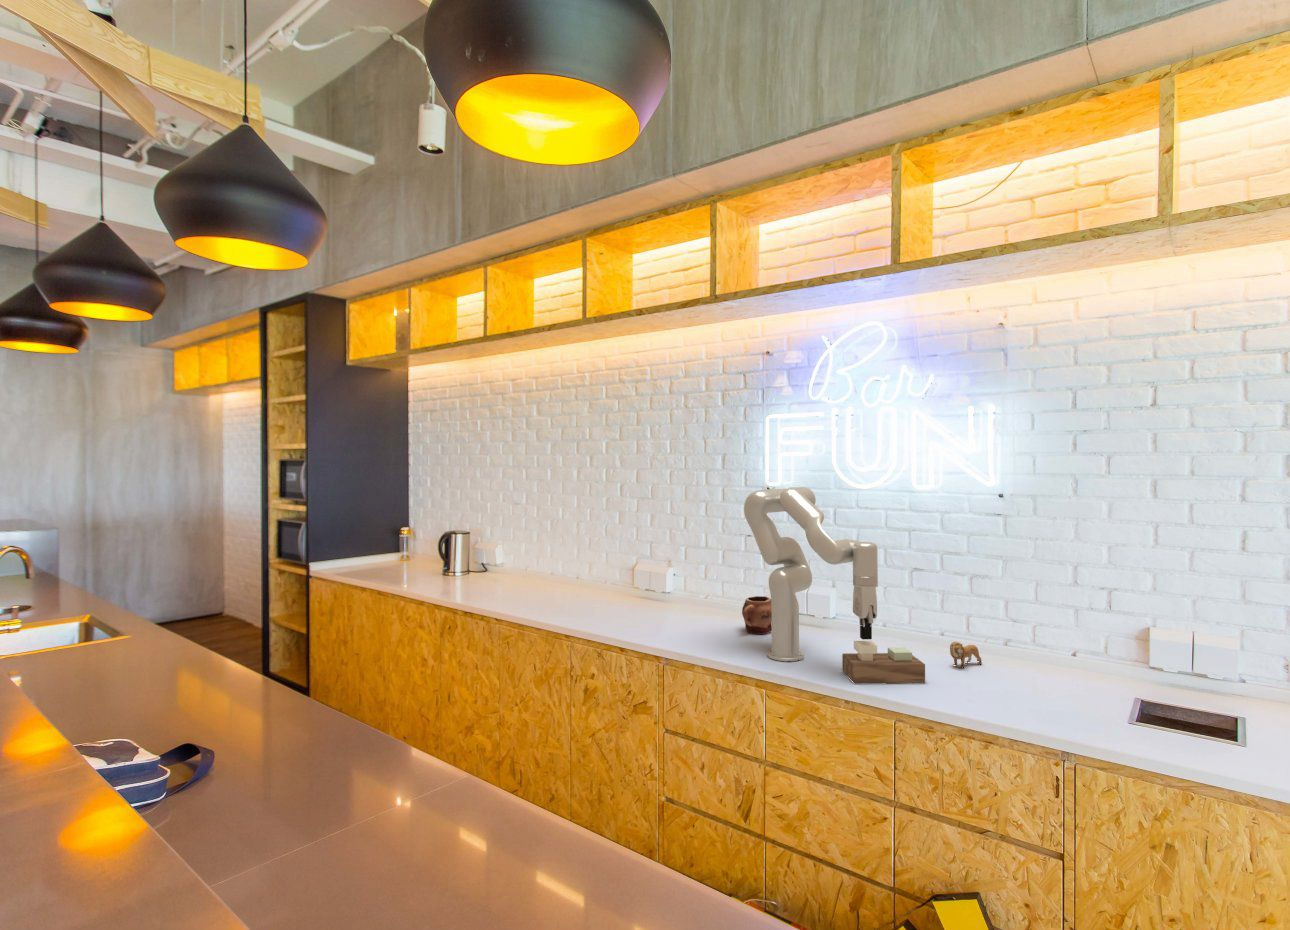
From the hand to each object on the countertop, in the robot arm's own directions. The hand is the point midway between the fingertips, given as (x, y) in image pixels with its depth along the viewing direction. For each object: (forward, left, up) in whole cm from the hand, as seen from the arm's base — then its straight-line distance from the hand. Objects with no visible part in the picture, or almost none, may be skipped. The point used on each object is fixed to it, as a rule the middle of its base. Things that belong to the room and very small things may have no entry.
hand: (865, 638), depth 211 cm
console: (0, +5, -13) cm, 14 cm away
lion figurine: (-11, +37, -13) cm, 41 cm away
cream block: (0, 0, -9) cm, 9 cm away
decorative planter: (-56, -25, -13) cm, 63 cm away
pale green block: (0, +11, -11) cm, 15 cm away
